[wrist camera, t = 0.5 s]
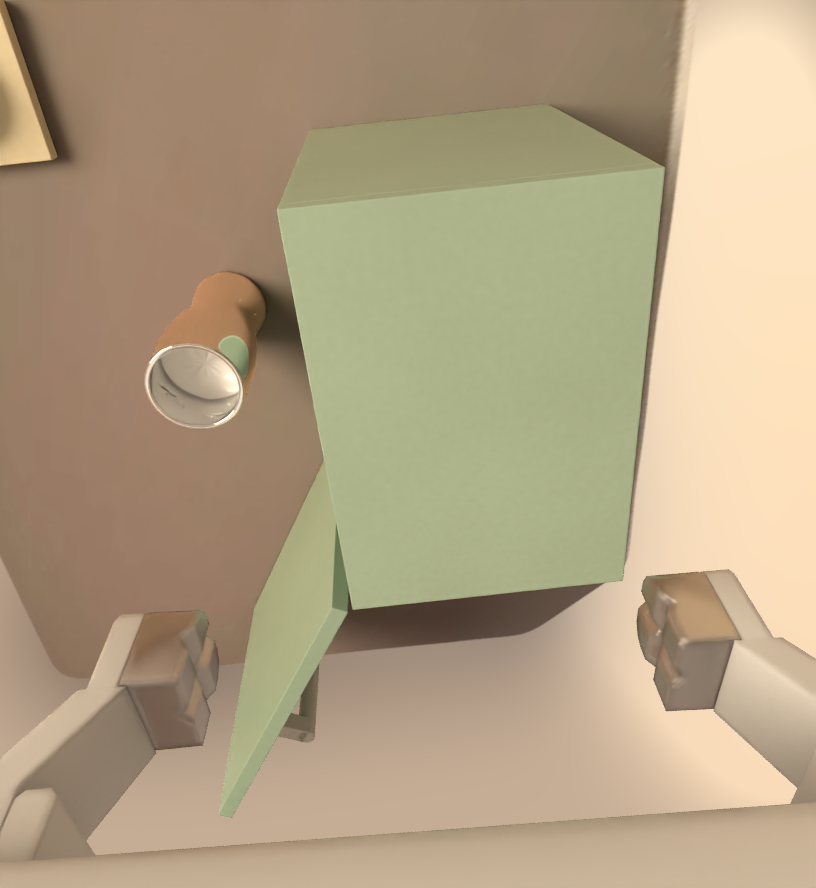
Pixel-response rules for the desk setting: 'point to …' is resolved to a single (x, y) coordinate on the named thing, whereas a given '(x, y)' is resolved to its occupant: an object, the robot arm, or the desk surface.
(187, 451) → the desk surface
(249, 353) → the beer glass
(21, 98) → the control box
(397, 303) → the green cabinet
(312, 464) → the desk surface
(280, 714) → the green cabinet door
